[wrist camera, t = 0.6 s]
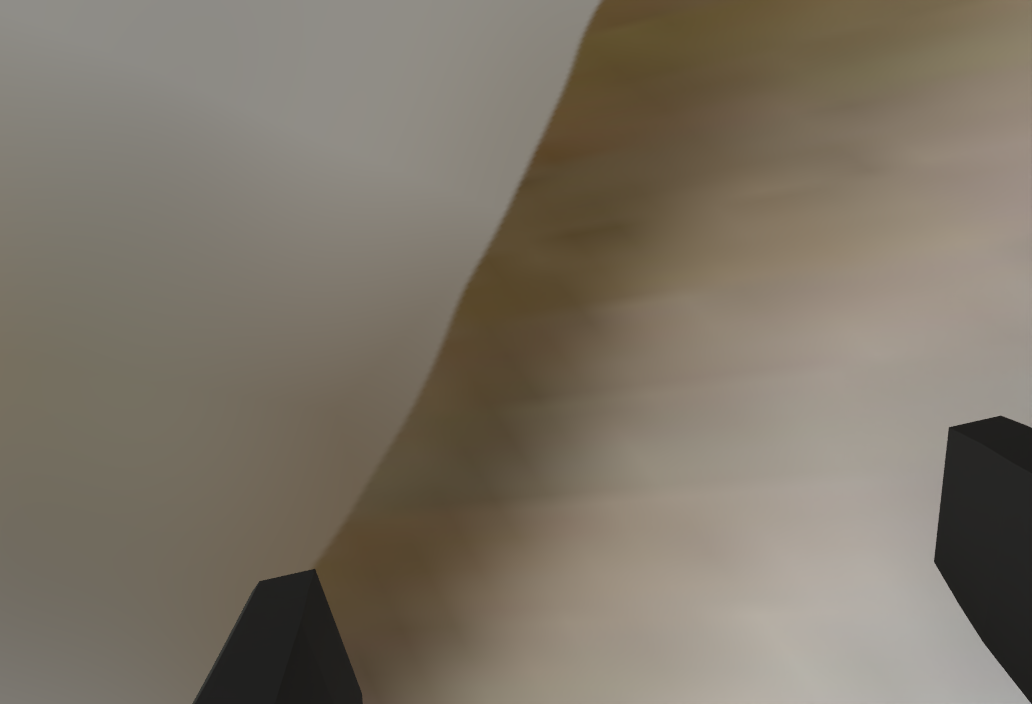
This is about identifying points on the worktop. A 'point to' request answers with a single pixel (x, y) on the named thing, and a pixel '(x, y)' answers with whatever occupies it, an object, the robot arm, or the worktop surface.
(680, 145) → the worktop surface
